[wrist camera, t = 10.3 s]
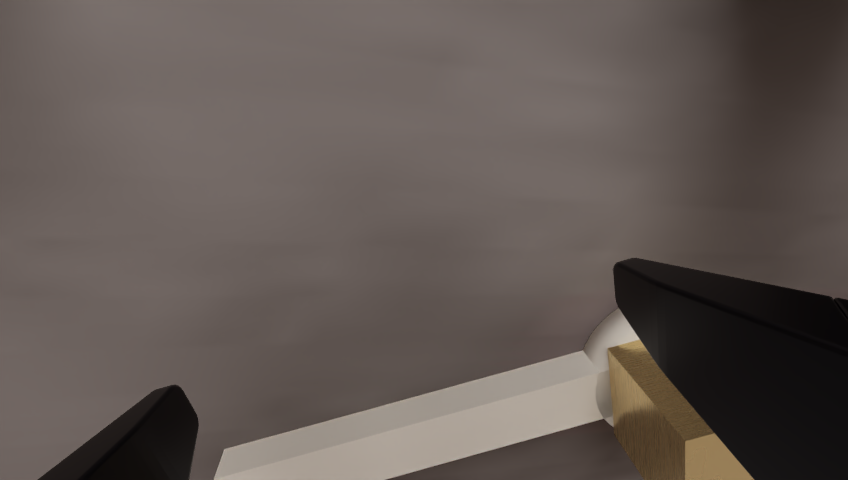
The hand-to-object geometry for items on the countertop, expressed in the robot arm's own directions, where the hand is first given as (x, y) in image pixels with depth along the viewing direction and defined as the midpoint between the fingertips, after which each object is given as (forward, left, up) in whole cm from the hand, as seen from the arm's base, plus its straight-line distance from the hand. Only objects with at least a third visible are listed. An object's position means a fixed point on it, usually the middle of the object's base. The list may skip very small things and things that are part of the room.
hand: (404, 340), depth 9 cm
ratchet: (-2, +14, -12) cm, 18 cm away
